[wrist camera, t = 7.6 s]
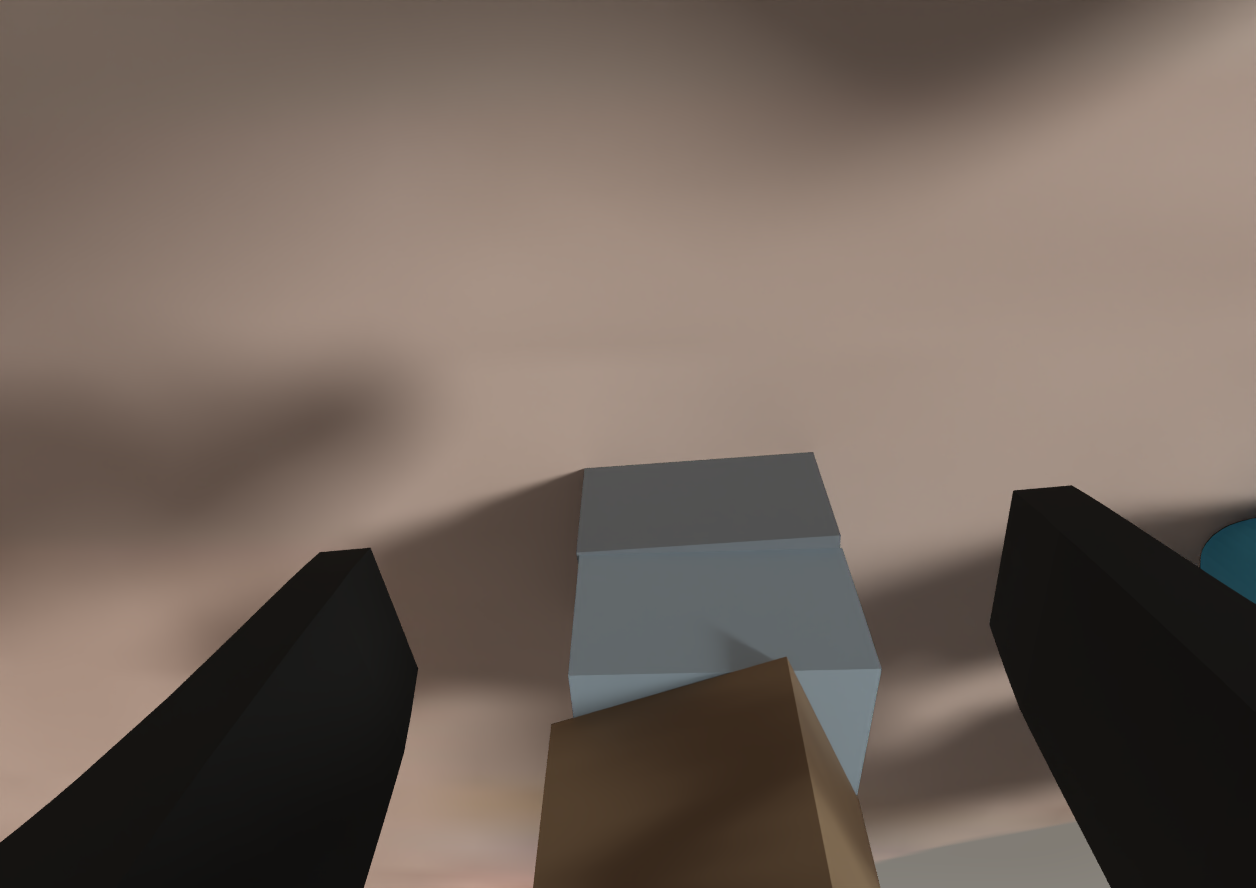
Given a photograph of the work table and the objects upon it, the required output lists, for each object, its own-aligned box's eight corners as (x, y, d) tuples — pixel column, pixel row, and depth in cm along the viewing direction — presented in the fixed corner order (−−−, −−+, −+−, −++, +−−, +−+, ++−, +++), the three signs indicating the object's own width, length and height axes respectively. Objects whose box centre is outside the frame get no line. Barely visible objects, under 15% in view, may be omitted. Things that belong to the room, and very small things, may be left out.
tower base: (811, 449, 21) (840, 535, 18) (805, 613, 24) (828, 708, 21) (584, 465, 21) (576, 552, 18) (608, 624, 24) (604, 720, 21)
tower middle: (842, 548, 18) (881, 668, 15) (819, 717, 21) (847, 844, 18) (579, 554, 18) (567, 675, 15) (596, 722, 22) (590, 848, 19)
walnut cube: (786, 656, 15) (842, 941, 11) (858, 799, 17) (926, 1076, 13) (551, 724, 16) (519, 1003, 12) (650, 849, 19) (652, 1117, 14)
